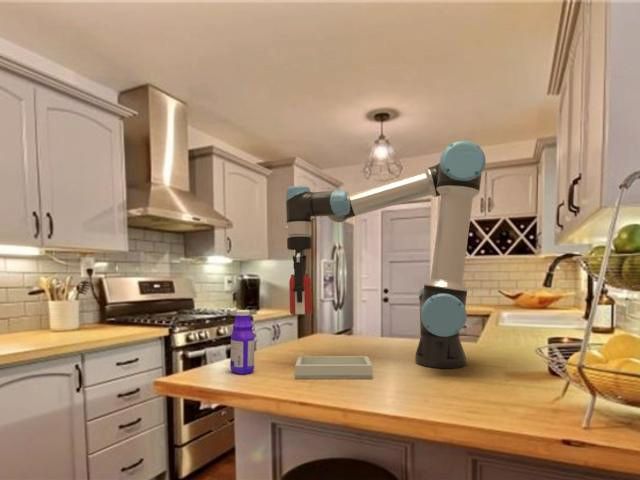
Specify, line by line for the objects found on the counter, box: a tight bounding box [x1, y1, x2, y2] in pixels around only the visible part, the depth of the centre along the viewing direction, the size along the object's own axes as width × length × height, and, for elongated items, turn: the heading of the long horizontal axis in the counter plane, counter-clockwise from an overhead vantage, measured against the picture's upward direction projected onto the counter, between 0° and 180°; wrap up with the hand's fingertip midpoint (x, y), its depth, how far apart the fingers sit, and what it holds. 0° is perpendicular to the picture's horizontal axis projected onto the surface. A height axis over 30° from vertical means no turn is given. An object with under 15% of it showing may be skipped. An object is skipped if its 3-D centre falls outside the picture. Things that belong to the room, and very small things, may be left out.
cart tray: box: [294, 355, 373, 380], centre depth 115 cm, size 20×12×4 cm, turn 89°
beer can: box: [288, 273, 313, 316], centre depth 124 cm, size 7×7×12 cm
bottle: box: [229, 309, 256, 375], centre depth 117 cm, size 7×6×17 cm
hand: (301, 312), depth 124 cm, fingers closed on beer can, 6 cm apart
